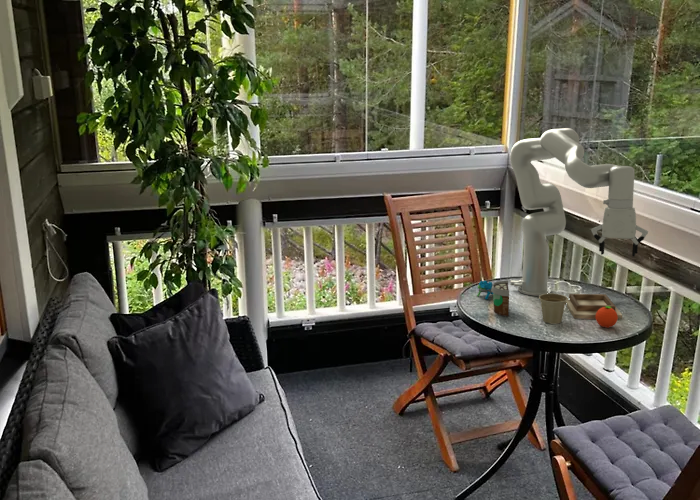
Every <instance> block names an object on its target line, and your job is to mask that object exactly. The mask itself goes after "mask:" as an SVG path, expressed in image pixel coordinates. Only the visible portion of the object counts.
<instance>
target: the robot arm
mask: <svg viewBox="0 0 700 500" xmlns="http://www.w3.org/2000/svg"><path fill="white" fill-rule="evenodd" d="M584 154H585V148H584V146H583V145H582V144H580V137H579V134H578V133H577V132H576V131H575V130H574V129H572V128H570V127H565V128H564V127H563V128H552V129H548V130H546V131H544V132H543V133H542V135H541V136H540V137H534V138H525V139H521V140H518V141H517V142H515V143H514V145H513V146H512V147H511V151H510V154H509V157H510V164H511V165H510V166H511V167H512V170H513V173H514V175H515V180H516V185H517V189H518V193H519V198H520V204H521V205H522V207H523V209H525V210H529V211H531V210H540V209H543V211H538V212H533V213H530V214H527V215H525V217H523V219H522V221H521V228H522V229H521V230H522V235H523V237H522V238H523V259H522V261H523V263H522V277H520V279H518V280H510V281H509V282H510V283H509V285H510V286H514V287H515V288H517V287H518V289H517V290H518V292H520V293H521V294H524V295H528V296H535V297H537V296H538V297H539V296H540V295H542V294H547V293H548V291H547V286H548V281H549V280H548V278H549V263H550V262H549V261H550V247H549V244H548V241H547V239H546V237H548V236H549V237H550V236H555V235H558V234H561V233H563V231H564V230H565V228H566V224H567V219H566V214H565V209H564V204H563V199H562V195H561V193H560V192H561V191H560V190H559V188H558V187H557V186H556V185H554V184H552V183H541V180H540V175H539V171H538V170H537V168H536V167H535V165H533V163H532V161H534V162H535V161H544V160H551V159H556V160H558V161H559V162H561V163H562V164H563V165H564V168H565V169H564V170H565V171H566V174H567V176H568V177H569V178H570V179H571V180H572V181H574V182H575V183H577V184H578V185H579V186H581V187H583V188H586V189H596V188H604V187H608V192H607V193H608V195H607V196H608V198H607V199H603V201H602V203H603V205H607V207H605V209H604V211H603V216H602V217H603V218H602V224H599V225H597V226H595V227H593V228H591V229H590V231H591V233H592V235H593V237H594V239H596V240H597V242H598V243H599V245H598V251H599V252H600V255H601V256H603V255H604V254H605V244H606V243H605V239H613V240H614V239H615V240H616V239H617V240H631V241H632V243H633V244H632V252H631V253H632V254H631V256H632V257H636V254H638V249H639V248H638V247H639V244H640V243H641V242H642V241H644V239H645V238H646V237H647V235H648V233H649V231H648V230H647V229H645V228H642V227H641V226H639V225H637V215H636V209H635V207H634V191H635V189H634V188H635V168H634V167H633V166H630V165H617V164H613V163H603V164H593V165H589V164H587V163H586V162H584V161H582V159H583V158H584ZM600 230H601V236H600V235H599V233H598V232H597V231H600ZM637 232H639V233H641V235H640V236H639V237H637V236H636V233H637Z"/></svg>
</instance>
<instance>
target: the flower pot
mask: <svg viewBox="0 0 700 500" xmlns="http://www.w3.org/2000/svg"><path fill="white" fill-rule="evenodd" d="M566 296H567V295H564V294H563V295H562V294H559V293H552V292H551V293H548V294H542V295H540V296H538V299H539V301H540V305H541V306H540V307H541V316H542V321H543V322H544V323H545V324H546V323H547V324H550V325H558V324H560V323H562V321H563V317H564V312H565V306H566V301H567V300H568V298H567V297H566Z"/></svg>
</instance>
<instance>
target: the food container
mask: <svg viewBox="0 0 700 500" xmlns="http://www.w3.org/2000/svg"><path fill="white" fill-rule="evenodd" d="M492 284H493V286H492V289H491V291H492V292H493V295H492V298H493V299H492V300H493V313H495V314H496V315H498V316H503V317H509V311H510V310H509V309H510V290H509V289H510V288H509V280H500V281H496V282H494V283H492Z"/></svg>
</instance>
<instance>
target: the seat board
mask: <svg viewBox="0 0 700 500" xmlns="http://www.w3.org/2000/svg"><path fill="white" fill-rule="evenodd" d="M568 296H569V298H570V300H567V301H566V303H567V306H566V307H567V309H568V311H569V312H570V313H571V314H570V315H572V317H573V319H579V320H580V319H583V320H584V319H585V320H586V319H589V320H592V319H593V320H596V317H595V316H596V313H597V311H598V310H599V309H600V308H602V307H606V306H610V307H612V309H614V310H615V311H616V313H617V316H618V320H623V314H622V313H621V311H620V309H618V308H617V306H616V305H615V304H614V303H613V301H612V300H611V299H610V298H609V296H608V295H607V294H601V293H599V294H596V293H594V294H593V293H569V295H568Z"/></svg>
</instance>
